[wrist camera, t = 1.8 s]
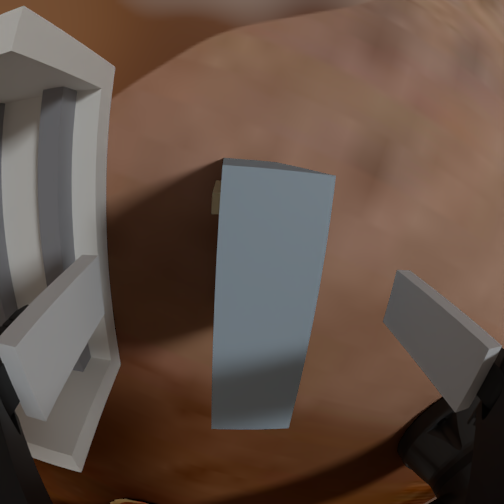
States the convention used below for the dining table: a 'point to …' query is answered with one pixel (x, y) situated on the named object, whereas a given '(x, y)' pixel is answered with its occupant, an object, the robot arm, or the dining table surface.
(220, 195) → the sliding door panel
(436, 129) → the dining table surface
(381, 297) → the dining table surface
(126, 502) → the vessel
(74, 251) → the door track
